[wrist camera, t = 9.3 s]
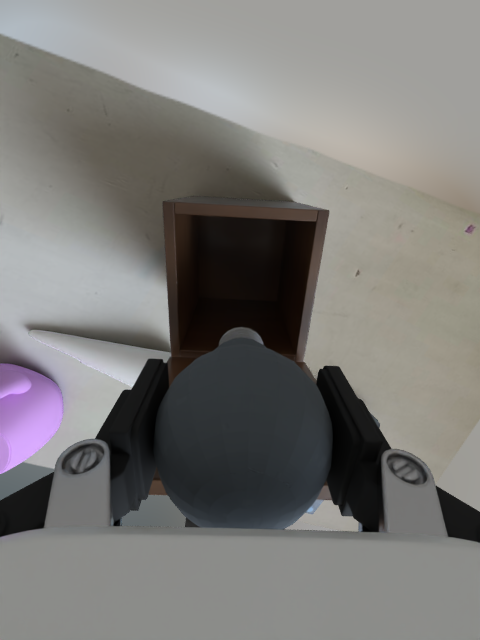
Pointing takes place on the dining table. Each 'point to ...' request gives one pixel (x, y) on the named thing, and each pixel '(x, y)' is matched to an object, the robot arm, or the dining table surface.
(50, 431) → the teapot
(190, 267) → the chest
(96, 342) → the long cone
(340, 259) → the dining table surface
